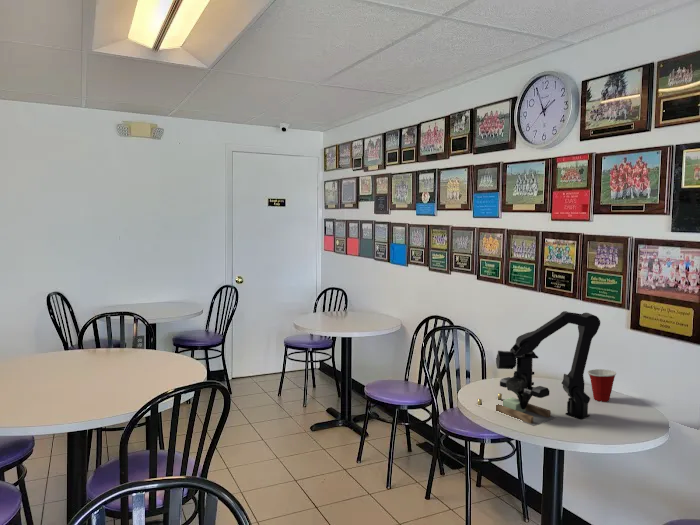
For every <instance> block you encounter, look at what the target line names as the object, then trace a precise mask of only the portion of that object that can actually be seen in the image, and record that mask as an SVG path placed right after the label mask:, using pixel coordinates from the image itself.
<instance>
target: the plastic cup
mask: <svg viewBox="0 0 700 525" xmlns="http://www.w3.org/2000/svg"><path fill="white" fill-rule="evenodd" d="M587 373H588V375H589V379H590V384H591V391H592V395H593V400H594V399H595V401H596V400H597V402H600V401H602V402H601V403H608V402H609V401H610V399H611V394H612V391H613V390H612V389H613V384H614V381H615V377H616V375H617V372H616V371H614V370H611V369H610V370H609V369H601V368H599V369H597V368H596V369H595V368H594V369H589V370H587ZM607 401H608V402H607Z"/></svg>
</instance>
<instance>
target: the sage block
mask: <svg viewBox="0 0 700 525" xmlns="http://www.w3.org/2000/svg"><path fill="white" fill-rule="evenodd" d="M502 400H503V406H505V407H508V408H511V409H514V410H516V411H519V412H525V409H522V408H521V405H520V402H519V399H518V398H516V397H510V398H506V399H502Z"/></svg>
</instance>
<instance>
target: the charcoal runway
mask: <svg viewBox="0 0 700 525" xmlns="http://www.w3.org/2000/svg"><path fill="white" fill-rule="evenodd" d="M522 413H525V414H528V415H531V416H533V423H531V424H530V423H528V422H525V421H523V422H522V423H525V424H526V425H530V426H533V427H535V426H537V425H541V424H543V423H546V422H547V423H548V422H550V421H553V420H555V419H557V417H556V416H553V415H550V417H545V416H542V415H539V414H536V413H533V412H530V411H527V410H525V412H522ZM519 422H521V421H520V420H519Z"/></svg>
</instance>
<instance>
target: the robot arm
mask: <svg viewBox="0 0 700 525" xmlns="http://www.w3.org/2000/svg"><path fill="white" fill-rule="evenodd" d="M568 324H572V325H576V326H577V330H578V338H577V343H576V346H575V351H574V355H573V358H572V363H571V368H570V371H569V372H568V374H566V373H564V374H563V377H562V378H563V380H562V382H561V385H562V388H563V391H564V392H565V393H566V394H567V396H568V401H567V402H566V404H567V405H566V412H565V415H567V416H569V417H572V418H576V419H578V420H584V419H586V418H589V417H590V414H589V413H588V412H589V403H590V402H591V397H590V396H589V395H588V394H587V393H586V392H585V378H584V374H585V373H584V372H585V369H586V365H587V362H588V361H587V360H588V358H589V352H590V349H591V344H592V340H593V338H594V337H595V335H596V334H597V332H598V331H599V329H600V326H601V320H600V318H599V317H598V316H597V315H595V314H592V313H589V312H583V313H577V312H571V311H565V310H564V311H561V312H560V313H559V314H558V315H557V316H555V317H553V318H552V319H550V320H549V321H547V322H545V323H544V324H543V325H541V326H540V327H538V328H536V329H535V330H532V331H529V332H525V333H524V334H520V335H519V336H518V337H517V338H516V339H515V344H514V345H513V346H512V347H511V348H510V350H509V351H507V350H497V354H496V358H495V363H496V364H495V366H496V369H498V370H513V369H514V368H516V370H515V371H514V372H513V376H512V377H510V376H508V377H504V378H501V379H500V381H499V387H502V388H506V389H507V391H511V392H513V393H514V394H515V395H516V396H517V399H519V402H520V405H521V408H522V409H525V408H526V406H527V404H528V403H530V400H531V398H532V397H536V398H539V399H542V398H546V397H548V396H550V389H549V388H548V387H546V386H542V385H537V386H535V382H533V376H534V375H535V371H533V359H539V356H538V355H537V354H536V352H535V349H537V348H538V346H540V344H541V343H542V341H544V340H545V339H547V338H548V337H550V336H551V335H553V334H554V333H556V332H558V331H559V330H561V329H562V328H564V327H565V326H567V325H568ZM534 386H535V387H534Z"/></svg>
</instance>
